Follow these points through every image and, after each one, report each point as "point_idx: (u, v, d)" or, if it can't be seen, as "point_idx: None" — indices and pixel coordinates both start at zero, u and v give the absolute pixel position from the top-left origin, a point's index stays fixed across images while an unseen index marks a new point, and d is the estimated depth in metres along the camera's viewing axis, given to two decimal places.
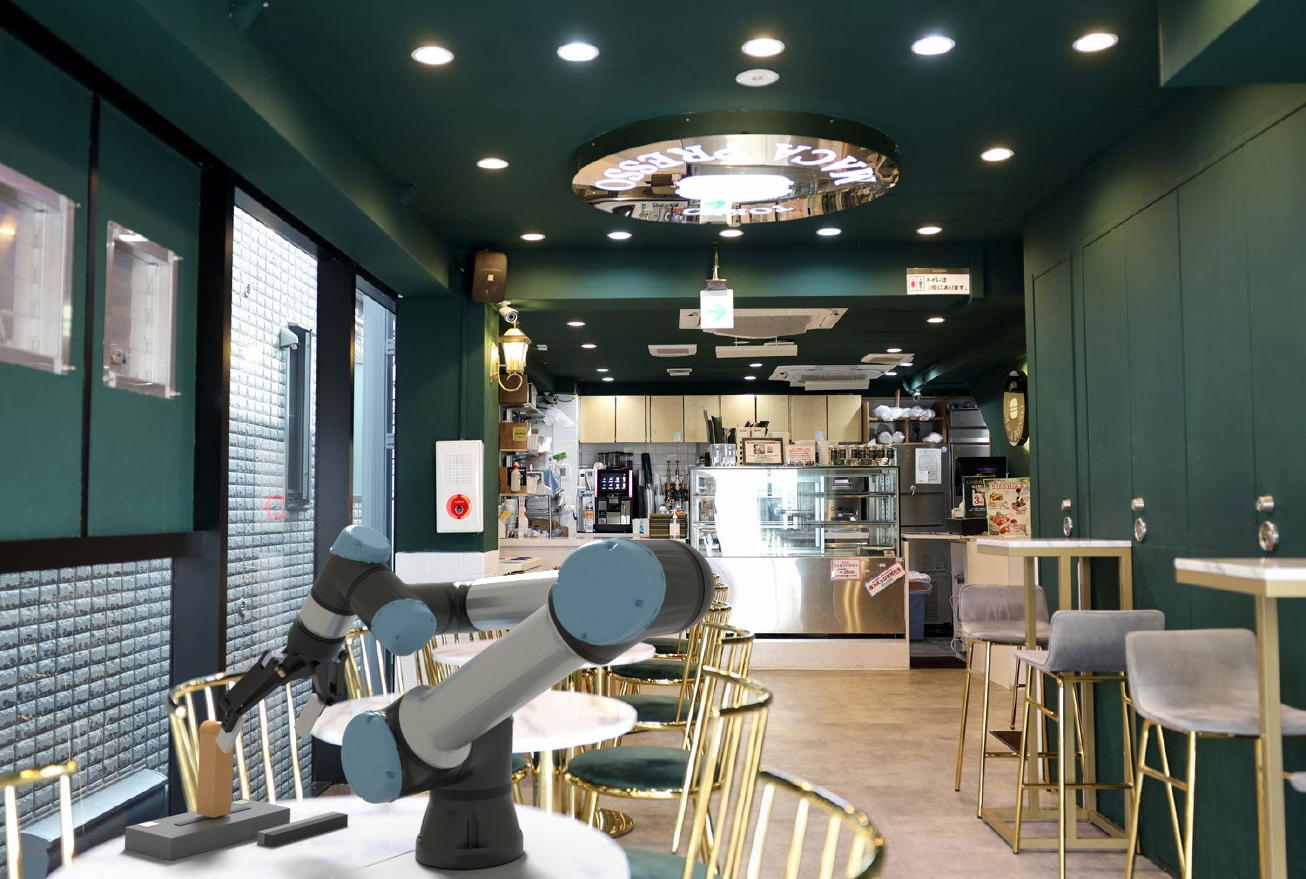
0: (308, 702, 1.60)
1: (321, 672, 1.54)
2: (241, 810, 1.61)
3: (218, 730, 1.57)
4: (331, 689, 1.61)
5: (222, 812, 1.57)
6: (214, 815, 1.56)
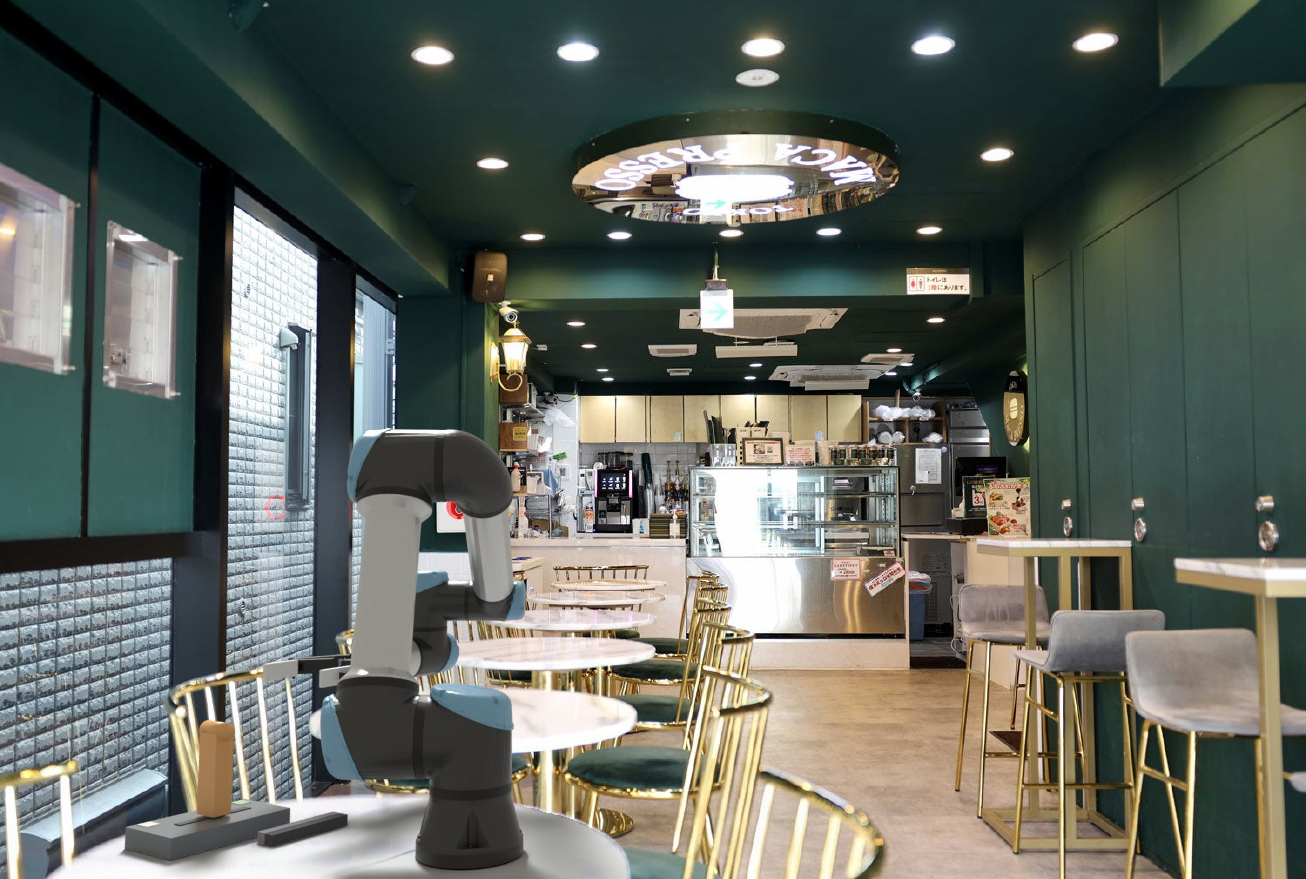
0: None
1: None
2: (241, 810, 1.61)
3: (218, 730, 1.57)
4: None
5: (222, 812, 1.57)
6: (214, 815, 1.56)
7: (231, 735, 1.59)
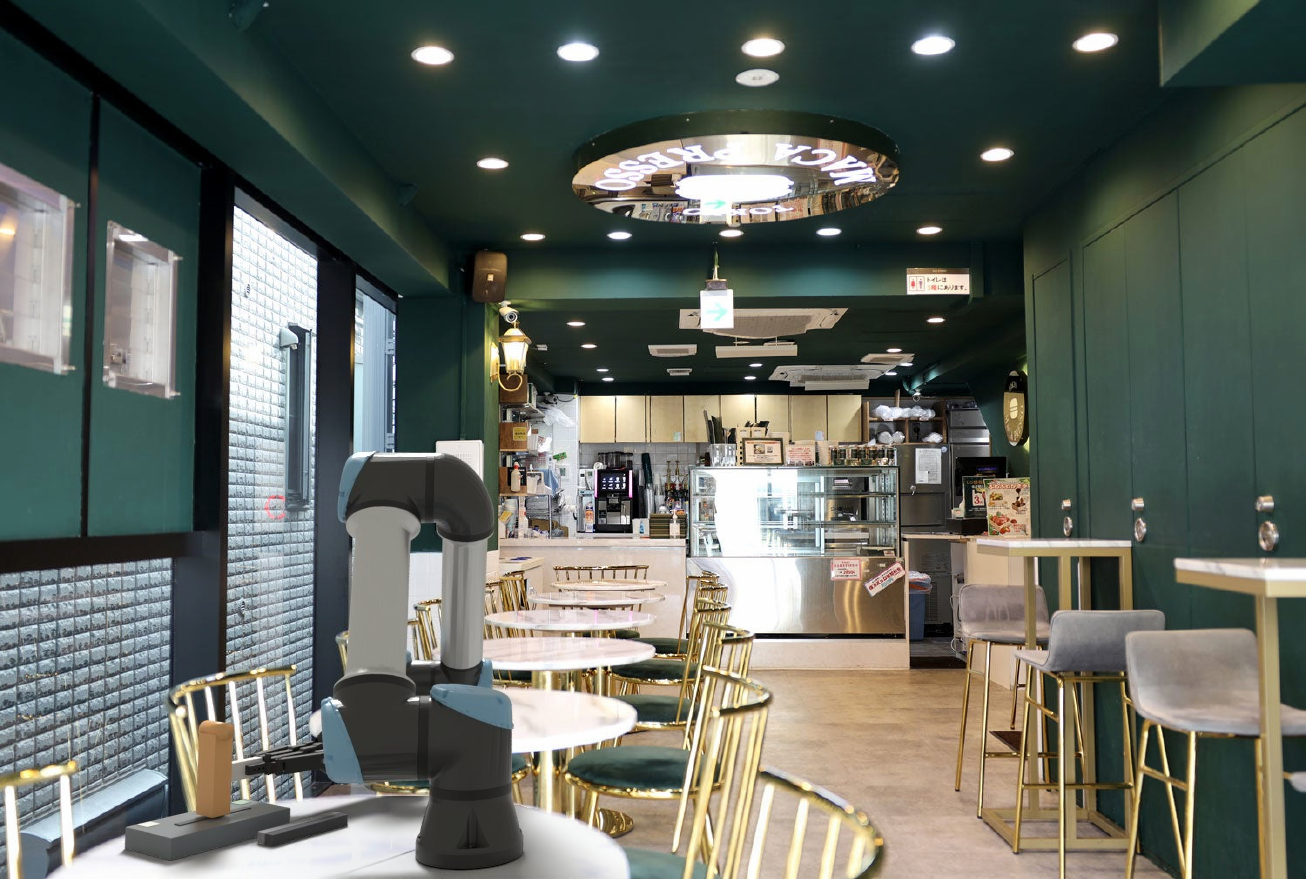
0: None
1: (311, 746, 1.73)
2: (241, 810, 1.61)
3: (217, 730, 1.57)
4: None
5: (221, 812, 1.57)
6: (213, 815, 1.56)
7: (230, 735, 1.59)
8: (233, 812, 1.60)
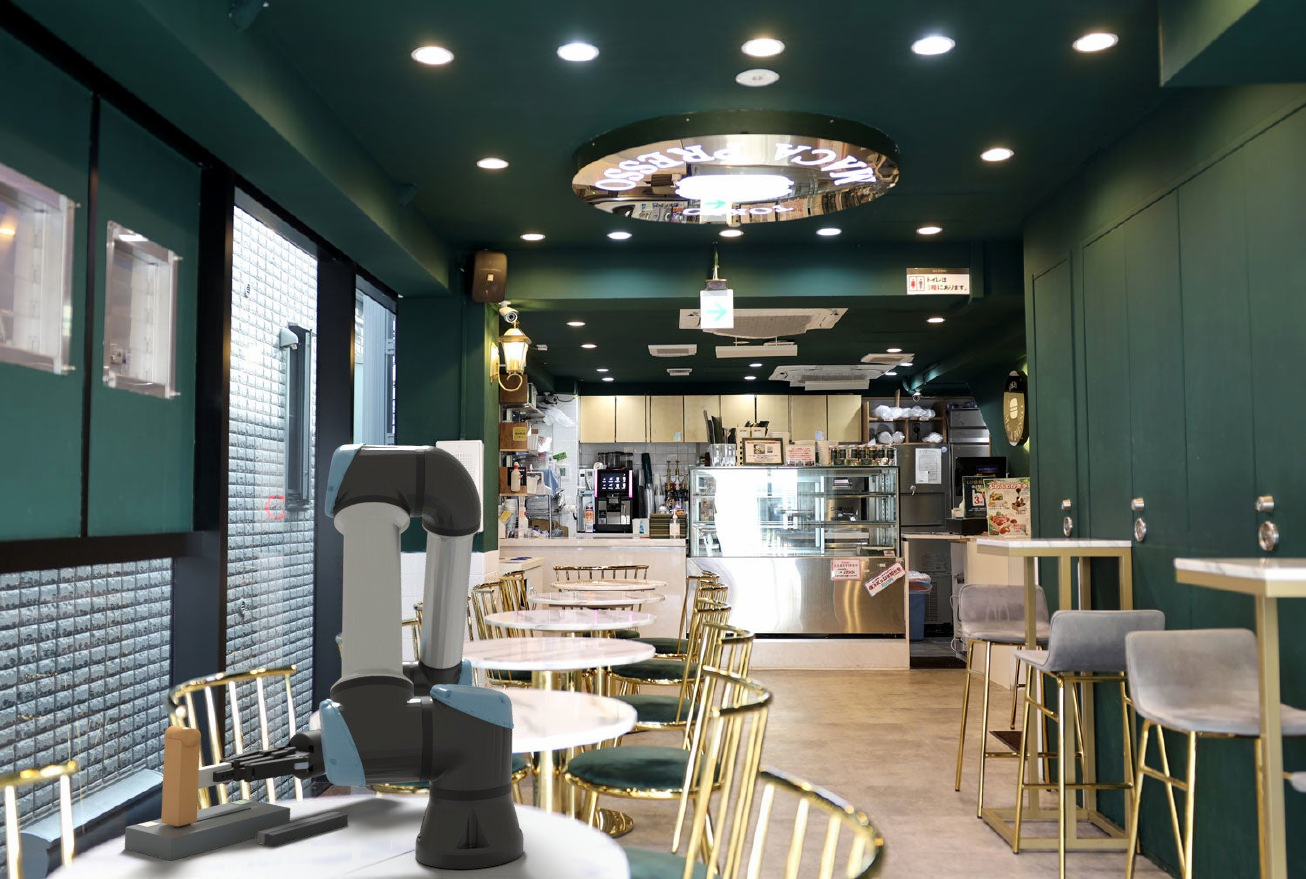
0: None
1: (282, 751, 1.68)
2: (241, 810, 1.61)
3: (183, 736, 1.53)
4: None
5: (187, 820, 1.52)
6: (179, 824, 1.51)
7: (197, 741, 1.54)
8: (233, 812, 1.60)
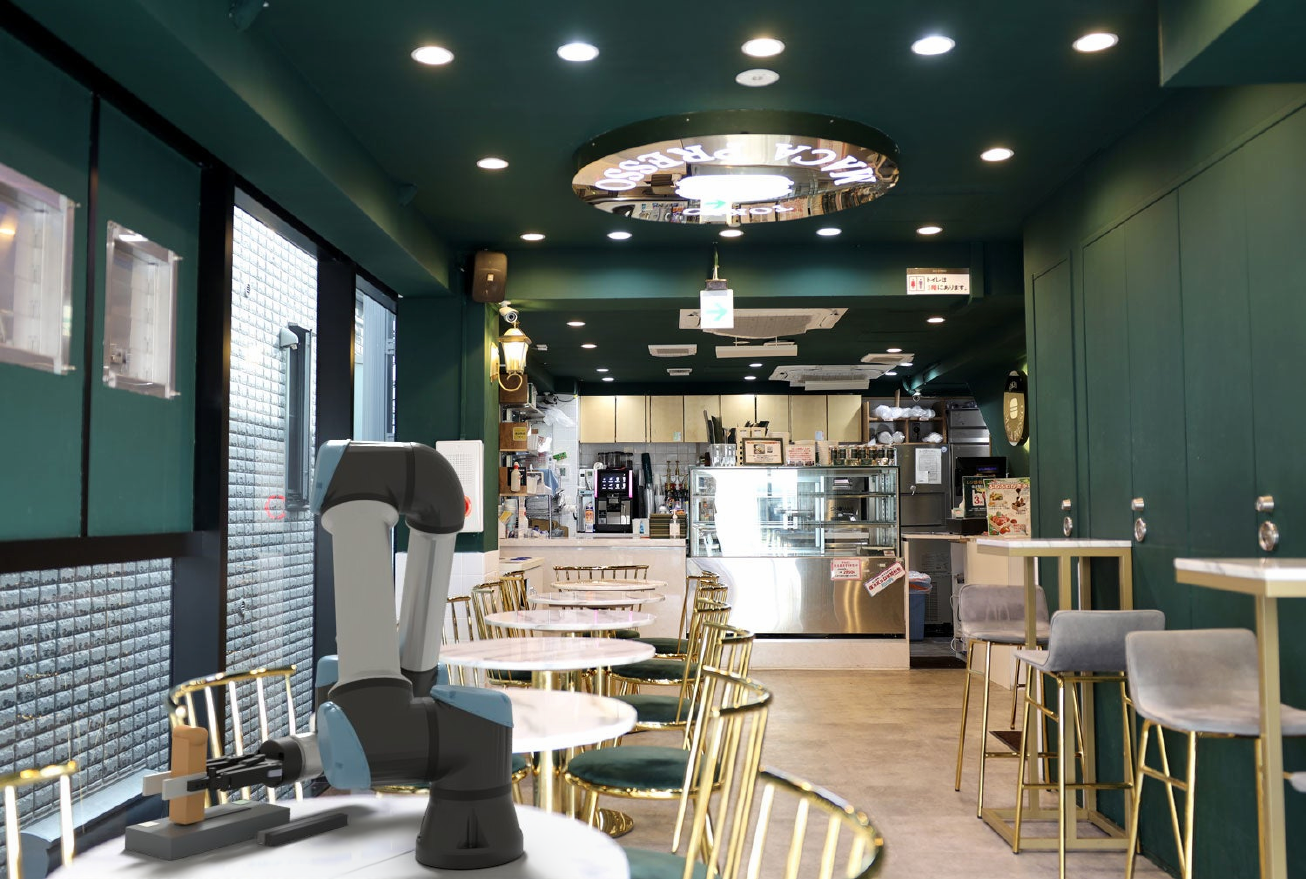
0: None
1: (253, 759, 1.62)
2: (241, 810, 1.61)
3: (190, 735, 1.54)
4: None
5: (195, 819, 1.53)
6: (186, 822, 1.52)
7: (204, 740, 1.55)
8: (233, 812, 1.60)
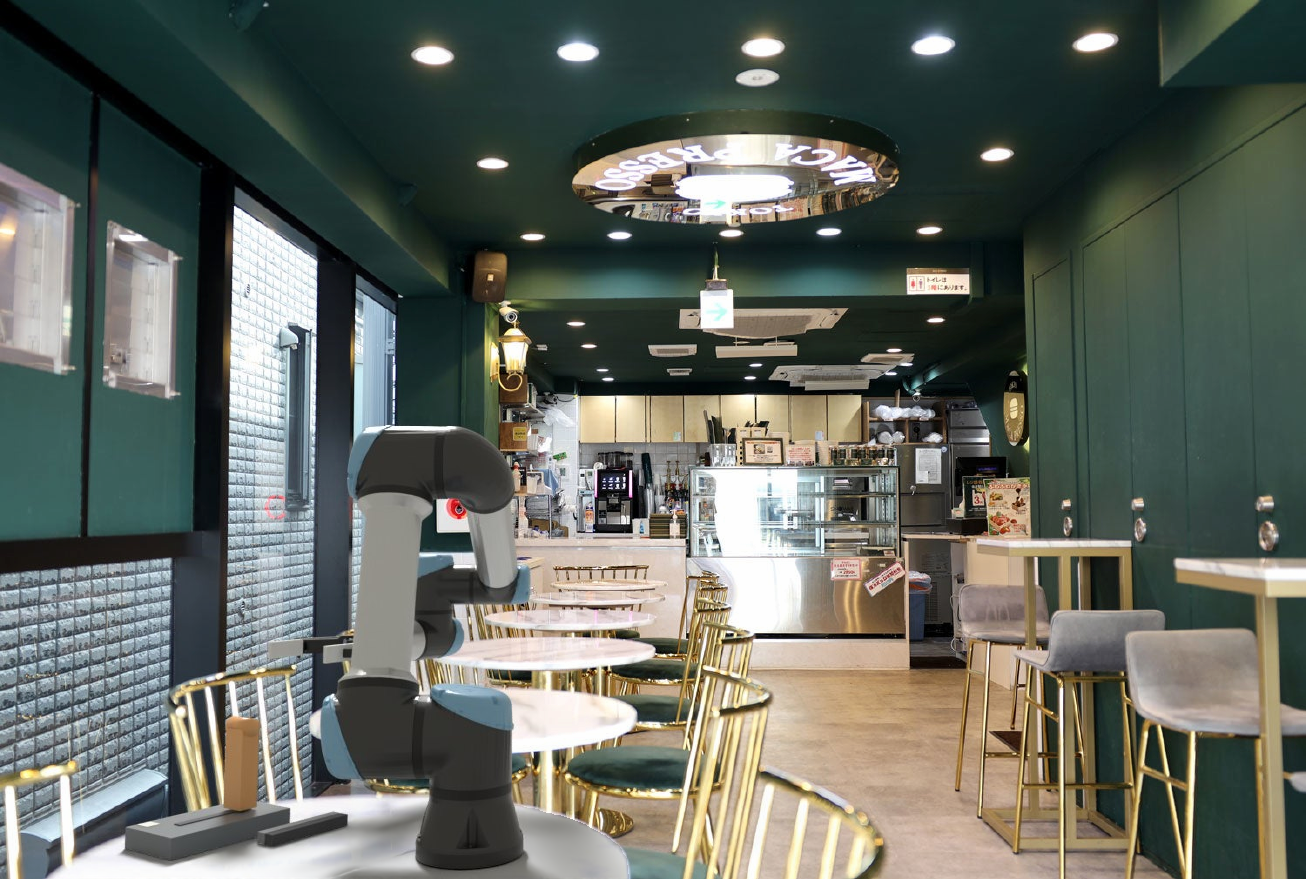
0: None
1: None
2: None
3: (244, 726, 1.61)
4: None
5: (248, 806, 1.61)
6: (240, 809, 1.60)
7: (257, 730, 1.62)
8: (233, 812, 1.60)
